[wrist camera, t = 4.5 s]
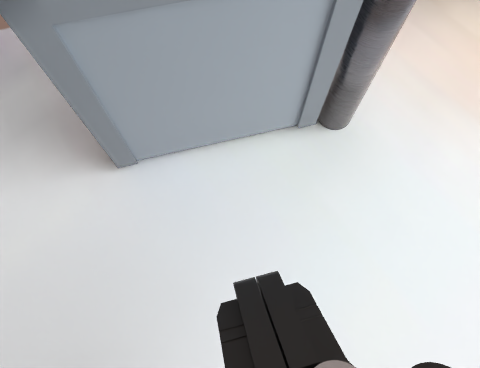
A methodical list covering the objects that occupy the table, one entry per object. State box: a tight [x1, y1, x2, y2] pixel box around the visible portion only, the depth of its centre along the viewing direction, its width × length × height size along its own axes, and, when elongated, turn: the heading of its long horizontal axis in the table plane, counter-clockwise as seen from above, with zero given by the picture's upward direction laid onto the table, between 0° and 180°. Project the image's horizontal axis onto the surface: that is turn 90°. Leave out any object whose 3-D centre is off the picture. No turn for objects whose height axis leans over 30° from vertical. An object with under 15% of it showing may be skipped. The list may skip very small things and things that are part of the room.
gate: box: [0, 0, 363, 168], centre depth 23 cm, size 17×2×16 cm, turn 104°
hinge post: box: [318, 0, 416, 130], centre depth 23 cm, size 3×3×18 cm
